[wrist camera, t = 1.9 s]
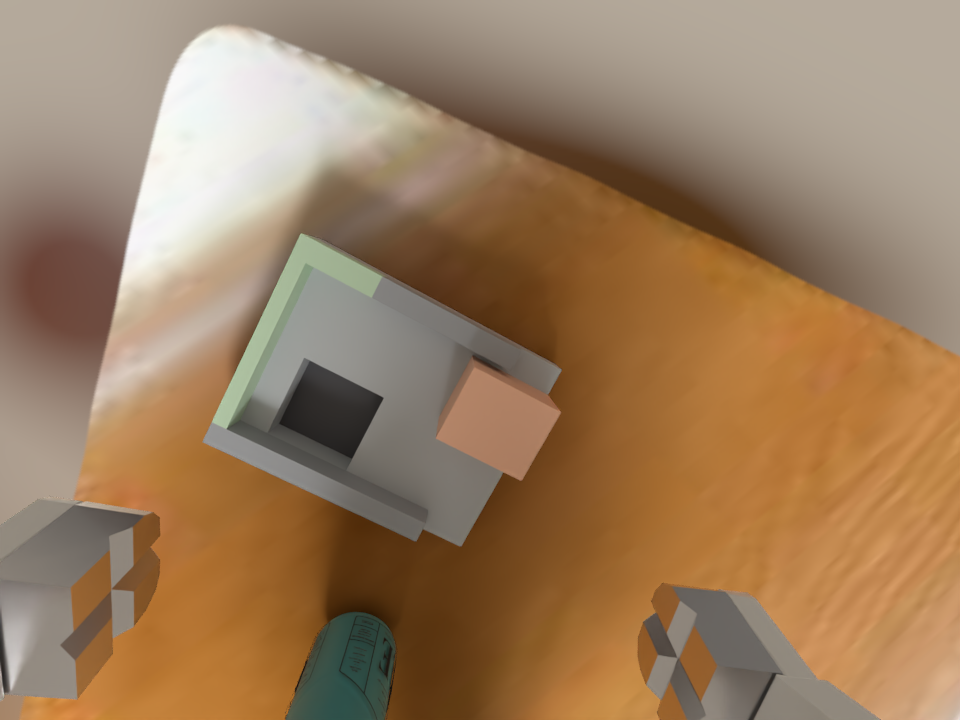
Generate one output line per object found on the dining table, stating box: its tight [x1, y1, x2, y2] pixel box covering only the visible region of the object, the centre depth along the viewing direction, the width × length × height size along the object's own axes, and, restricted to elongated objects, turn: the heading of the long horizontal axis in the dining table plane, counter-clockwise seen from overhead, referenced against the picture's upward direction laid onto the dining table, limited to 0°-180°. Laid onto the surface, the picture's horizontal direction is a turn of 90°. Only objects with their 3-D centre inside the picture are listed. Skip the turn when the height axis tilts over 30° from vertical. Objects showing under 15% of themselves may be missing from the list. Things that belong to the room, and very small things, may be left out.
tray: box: [203, 233, 562, 547], centre depth 33 cm, size 19×15×4 cm
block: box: [436, 355, 561, 481], centre depth 31 cm, size 6×5×4 cm
